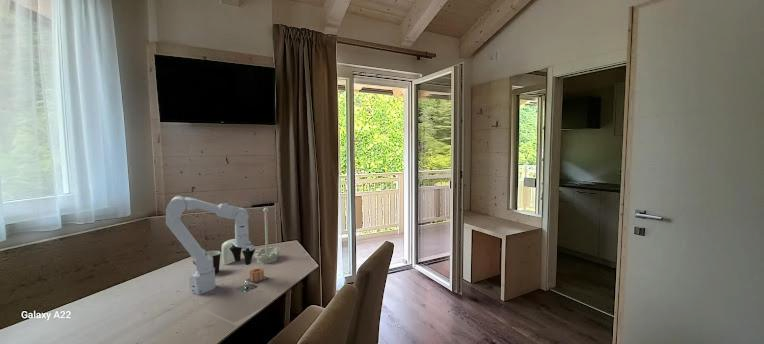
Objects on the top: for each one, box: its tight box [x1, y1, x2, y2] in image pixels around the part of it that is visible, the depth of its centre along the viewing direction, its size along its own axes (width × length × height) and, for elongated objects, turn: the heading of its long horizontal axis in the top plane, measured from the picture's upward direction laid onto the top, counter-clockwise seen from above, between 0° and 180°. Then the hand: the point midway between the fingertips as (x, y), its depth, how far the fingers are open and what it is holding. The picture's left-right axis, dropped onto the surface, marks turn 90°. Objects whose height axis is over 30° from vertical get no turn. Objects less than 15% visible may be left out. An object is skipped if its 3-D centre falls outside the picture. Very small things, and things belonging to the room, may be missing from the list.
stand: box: [235, 279, 259, 294], centre depth 140 cm, size 7×7×4 cm
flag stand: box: [254, 207, 280, 264], centre depth 175 cm, size 13×13×30 cm
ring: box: [249, 267, 265, 281], centre depth 148 cm, size 6×6×4 cm
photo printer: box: [220, 238, 235, 266], centre depth 173 cm, size 10×4×12 cm, turn 160°
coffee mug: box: [192, 250, 222, 275], centre depth 158 cm, size 12×9×10 cm
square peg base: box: [246, 275, 269, 285], centre depth 148 cm, size 7×7×4 cm
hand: (242, 262), depth 145 cm, fingers open, 7 cm apart
